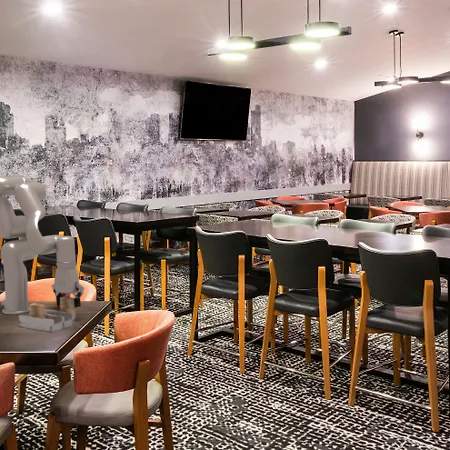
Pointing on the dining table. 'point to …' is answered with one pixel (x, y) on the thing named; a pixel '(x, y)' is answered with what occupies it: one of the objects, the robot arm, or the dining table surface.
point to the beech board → (67, 305)
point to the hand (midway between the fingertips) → (68, 305)
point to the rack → (48, 321)
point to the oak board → (37, 310)
